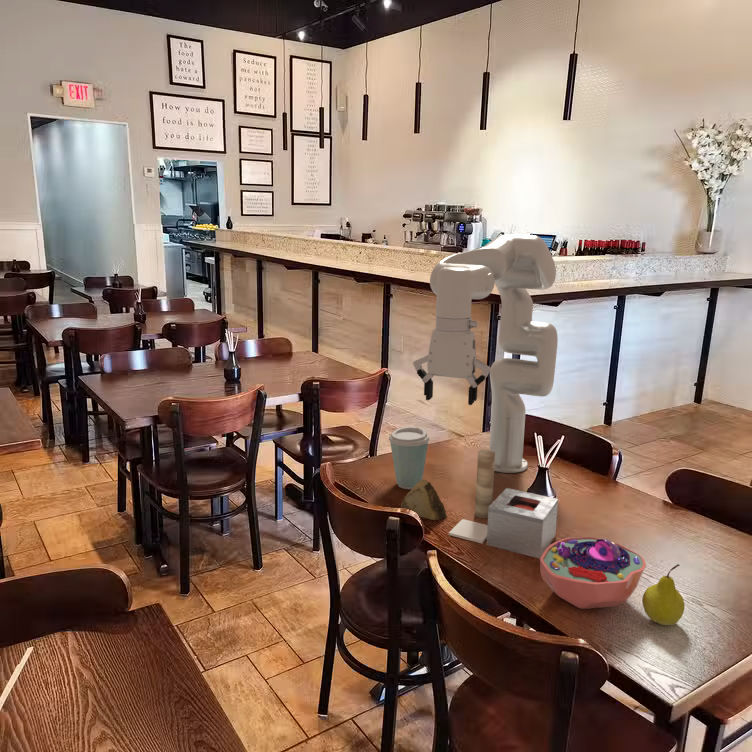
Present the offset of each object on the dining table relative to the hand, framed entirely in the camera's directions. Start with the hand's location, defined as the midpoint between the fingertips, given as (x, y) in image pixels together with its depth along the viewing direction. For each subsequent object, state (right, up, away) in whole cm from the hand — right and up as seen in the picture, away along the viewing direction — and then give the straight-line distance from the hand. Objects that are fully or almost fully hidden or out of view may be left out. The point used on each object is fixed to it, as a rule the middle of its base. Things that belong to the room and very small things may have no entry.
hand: (450, 401), depth 147 cm
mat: (+6, -30, +4) cm, 31 cm away
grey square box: (+16, -31, +1) cm, 35 cm away
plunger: (+16, -27, 0) cm, 31 cm away
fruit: (+35, -39, -28) cm, 59 cm away
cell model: (+24, -37, -21) cm, 49 cm away
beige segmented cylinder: (+10, -28, +13) cm, 32 cm away
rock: (-5, -28, +14) cm, 32 cm away
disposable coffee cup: (-8, -24, +31) cm, 40 cm away
